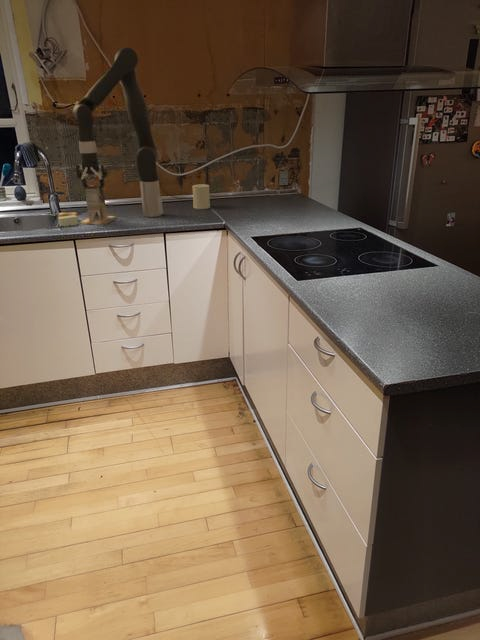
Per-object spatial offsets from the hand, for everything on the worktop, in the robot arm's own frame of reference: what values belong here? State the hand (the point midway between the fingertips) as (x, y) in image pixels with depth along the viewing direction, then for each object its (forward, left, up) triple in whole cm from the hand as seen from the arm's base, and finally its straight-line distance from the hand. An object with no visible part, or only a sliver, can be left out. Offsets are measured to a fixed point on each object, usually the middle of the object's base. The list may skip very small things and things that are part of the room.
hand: (94, 187), depth 232 cm
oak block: (+15, +2, -17) cm, 23 cm away
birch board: (0, 0, -16) cm, 16 cm away
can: (-42, -38, -17) cm, 59 cm away
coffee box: (0, 0, -16) cm, 16 cm away
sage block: (+11, +9, -17) cm, 22 cm away
